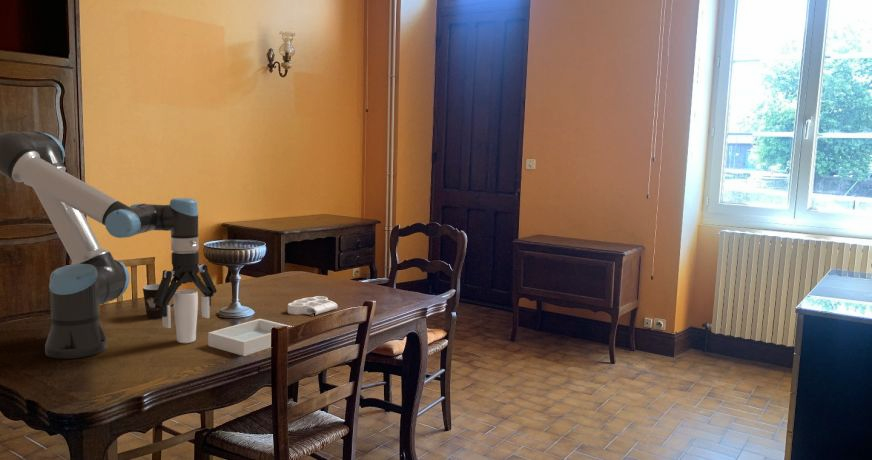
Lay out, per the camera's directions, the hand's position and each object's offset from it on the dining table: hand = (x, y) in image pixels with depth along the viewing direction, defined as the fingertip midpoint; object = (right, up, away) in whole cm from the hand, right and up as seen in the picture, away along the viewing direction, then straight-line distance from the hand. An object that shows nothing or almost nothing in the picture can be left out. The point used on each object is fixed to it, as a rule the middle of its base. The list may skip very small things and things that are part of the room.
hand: (186, 322), depth 198 cm
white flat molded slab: (+29, -2, +43) cm, 51 cm away
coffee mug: (-19, -2, +26) cm, 32 cm away
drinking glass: (0, -6, +1) cm, 6 cm away
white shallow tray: (+19, -6, +2) cm, 20 cm away
